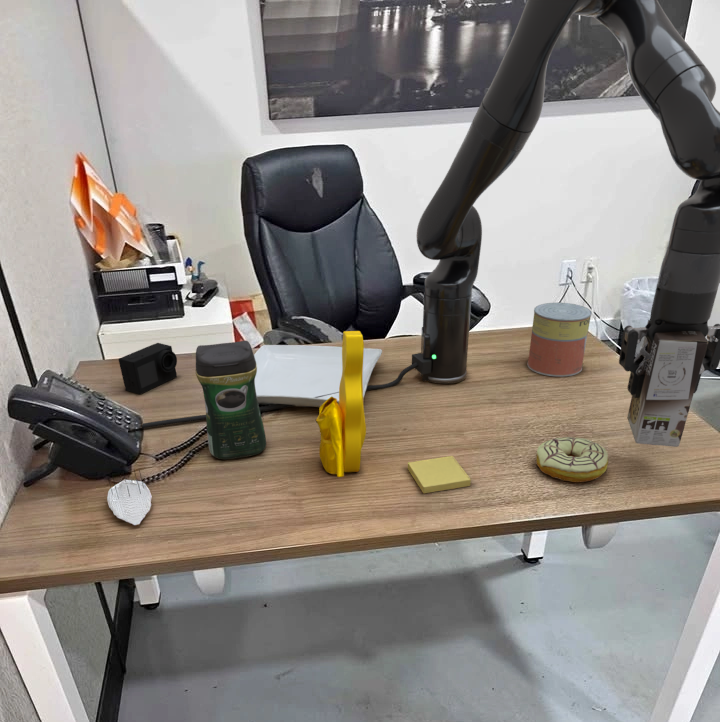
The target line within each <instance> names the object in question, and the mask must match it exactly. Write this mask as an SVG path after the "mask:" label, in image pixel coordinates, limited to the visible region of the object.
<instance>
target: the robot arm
mask: <svg viewBox="0 0 720 722" xmlns="http://www.w3.org/2000/svg"><path fill="white" fill-rule="evenodd" d="M574 15H576V16H580V17H581V16H582V17H587V18H589V17H592V18H594V19H595V20H597V21H598V22H599V23H600V24H602V25H603V26H604V27H606V28H607V29H608V30H609V31H610V32H611V33H612V34H613V36H614V37H615V38H616V40H617V41H618V43H619V44H620V47H621V49H622V51H623V54H624V59H625V64H626V69H627V73H628V75H629V79H630V81H631V83H632V85H633V87H634V89H635V90H636V92H637V93H638V95H639V96H640V98H641V99H642V101H643V102H644V103H645V105H646V106H647V107H648V108H649V110H650V112H651V113H652V114H653V115H654V116H655V118H656V119H657V121H659V124H660V127H661V130H662V131H661V132H662V134H663V137H664V139H665V143H666V146H667V148H668V152H669V154H670V156H671V158H672V160H673V162H674V164H675V165H676V167H677V168H678V169H679V170H680V171H681V172H682V173H683V174H684V175H686V176H687V177H689V178H691V179H693V180H697V181H700V182H699V184H698V187H697V189H696V191H695V192H694V193H693V195H691V196H690V197H688V198H687V199H685V200H683V201H682V202H681V203H680V204H679V205H678V206H677V208H676V209H675V213H674V215H673V220H672V224H671V229H670V234H669V237H668V238H669V239H668V242H667V247H666V250H665V253H664V256H663V258H662V261H661V264H660V269H659V274H658V278H657V281H656V287H655V291H654V296H653V299H652V304H651V310H650V316H649V319H648V320H649V322H648V321H647V323H648V324H647V323H646V325H645V326H642V327H640V326H639V327H633V326H632V325H626V326H625V327H624V329H623V333H622V340H621V344H620V345H621V346H620V352H619V359H618V364H619V365H620V366H621V367H622V368H623V370H624V371H626V372H630V374H629V378H628V382H627V383H628V384H627V387H626V388H627V391H628V392H629V394H630V395H631V397H632V396H633V398H640V395H641V391H642V386H643V382H644V378H645V375H644V374H643V373H644V372H645V371H646V369H647V365H648V362H649V360H650V354H649V353H648V352H647V345H648V342H649V343H651V344H652V342H653V339H654V336H655V333H664V332H676V331H700V332H702V334H703V335H704V336H705V338H706V339H707V340H708V345H707V348H706V351H705V355H704V359H703V362H702V366H701V369H700V373H699V377H698V380H697V383H696V387H695V391H694V394H696V392H697V391H698V388H699V385H700V381H701V377H702V374H704V372H706V371H708V370H712V371H715V370H716V369H718V367H719V366H720V365H719V364H720V323H715V324H714V325H713V326H712V325H708V322H709V320H710V318H711V316H712V312H713V308H714V305H715V301H716V298H717V293H718V290H719V286H720V111H719V110H718V109H717V108H716V107H715V105H714V104H713V103H712V102H713V100H714V98H715V96H716V91H717V85H716V81H715V77H714V76H713V75H712V74H711V71H710V70H709V69H708V68H707V67H706V65H705V63H703V61H702V60H701V59H700V58H699V57H698V55H697V54H696V53H695V52H694V50H693V49H692V48H691V46H690V45H689V44H688V43H687V42H686V40H685V39H684V38H683V37H682V35H681V34H680V32H678V30H677V28H676V27H675V26H674V24H673V23H672V21H671V20H670V19H669V17H668V15H667V14H666V13H665V10H664V9H663V7H662V5H661V4H660V2H659V0H526V3H525V6H524V8H523V11H522V13H521V16H520V18H519V21H518V24H517V26H516V29H515V31H514V33H513V36H512V38H511V40H510V42H509V45H508V47H507V49H506V51H505V53H504V56H503V58H502V59H501V62H500V64H499V67H498V69H497V71H496V73H495V75H494V77H493V79H492V82H491V83H490V85H489V86H488V89H487V91H486V93H485V94H484V97H483V99H482V100H481V102H480V104H479V107H478V108H477V111H476V113H475V115H474V117H473V119H472V121H471V123H470V126H469V128H468V130H467V133H466V135H465V137H464V139H463V141H462V143H461V145H460V147H459V148H458V150H457V153H456V154H455V157H454V158H453V161H452V162H451V164H450V166H449V169H448V171H447V173H446V174H445V176H444V178H443V180H442V181H441V183H440V185H439V187H438V188H437V190H436V191H435V193H434V194H433V196H432V197H431V199H430V201H429V203H428V204H427V205H426V208H425V209H424V210H423V212H422V214H421V216H420V219H419V221H418V224H417V228H416V244H417V247H418V250H419V252H420V253H421V255H422V256H424V257H425V258H426V259H428V260H432V261H438V263H437V265H436V267H435V268H434V269H433V270H432V271H431V272H430V273H429V274H428V275H426V277H425V279H424V283H423V309H422V311H423V314H422V326H421V337H420V342H421V343H420V352H417V353H413V354H411V364H410V365H408V366H406V367H405V368H404V369H402V370H401V371H400V373H399V374H398V376H397V377H396V379H394V380H392V381H391V382H388V383H383V384H371V385H369V384H368V385H367V388H366V391H375V390H376V391H377V390H383V389H387V388H391V387H394V386H396V385H398V384H399V383H401V382H402V380H403V378H404V376H405V375H407V373H409V372H411V371H412V370H414V369H415V370H416V371H417V372H419V373H420V377H421V380H422V382H428V383H429V382H430V383H434V384H439V385H440V384H442V385H443V384H444V385H450V384H456V383H460V382H462V381H464V380H465V379H466V378H467V374H468V373H467V372H468V371H467V369H468V352H469V351H468V350H469V338H470V322H471V311H472V310H471V309H472V295H473V286H474V284H475V282H476V280H477V277H478V272H479V265H480V256H481V249H482V240H483V239H482V238H483V225H482V219H481V216H480V214H479V212H478V210H477V209H476V207H475V206H474V204H475V203H476V201H477V200H478V199H479V198H480V197H481V196H482V194H483V193H484V192H485V191H486V190H487V189H488V188H489V187H490V186H491V185H492V184H493V183H494V182H496V181H497V180H498V179H499V177H501V176H502V175H503V173H505V172H506V171H507V169H508V168H509V167H510V166H511V165H512V164H513V163H514V162H515V161H516V159H517V158H518V156H519V155H520V154H521V152H522V151H523V149H524V147H525V146H526V144H527V143H528V140H529V139H530V137H531V135H532V134H533V132H534V129H535V128H536V126H537V124H538V122H539V120H540V118H541V115H542V112H543V107H544V99H545V91H546V76H547V68H548V64H549V60H550V57H551V55H552V53H553V50H554V49H555V45H556V44H557V42H558V40H559V38H560V37H561V34H562V32H563V30H564V29H565V27H566V26H567V23H568V22H569V20H570V19H571V17H572V16H574ZM645 336H646V338H647V340H648V341H647V343H646V344H645V345H644V346H643V345H642V346H643V347H641V349H640V350H639V353H638V355H636V352H637V347H638V344H640V343H641V342H642V339H644V337H645ZM336 393H339V392H336ZM332 394H335V393H332ZM327 395H330V394H327ZM322 396H326V395H322ZM322 396H318V397H322ZM318 397H314V398H318ZM290 407H297V406H296V405H288V404H275V405H262V406H259V410H260V413H263V412H268V411H275V410H281V409H285V408H290ZM204 420H205V421H206V414H201V415H192V416H184V417H178V418H170V419H163V420H157V421H150V422H144V423H143V425H142V429H149V428H155V427H161V426H168V425H169V426H170V425H175V424H176V425H177V424H184V423H191V422H199V421H204ZM142 429H141V430H142Z"/></svg>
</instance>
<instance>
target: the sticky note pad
mask: <svg viewBox="0 0 720 722" xmlns="http://www.w3.org/2000/svg"><path fill="white" fill-rule="evenodd" d="M407 470H408V472H409V474H410V475H411V476H412V478H413V480H414V481H415V483H416V484H417V486H418V488H419V489H420V490H421V492H422V493H423V494H429V493H435V492H441V491H442V492H443V491H447V490H453V489H459V488H466V487H470V486H471V483H472V480H471V478H470V476H469V475H468V474H467V473H466V471H465V470H464V469H463V468H462V466H461V464H459V462H458V461H457V459H456V458H455V457H454V455H449V456H448V455H447V456H442V457H435V458H429V459H428V458H427V459H422V460H416V461H415V460H414V461H409V462H407Z"/></svg>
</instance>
